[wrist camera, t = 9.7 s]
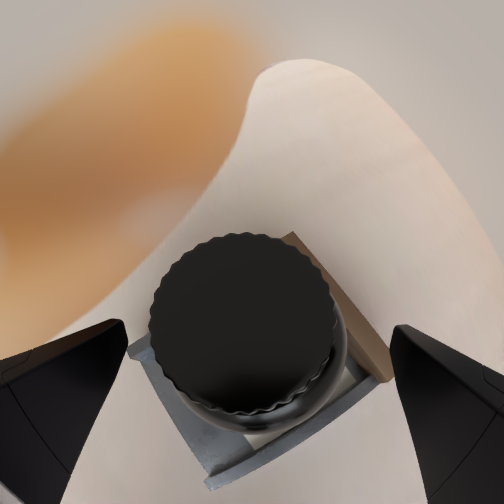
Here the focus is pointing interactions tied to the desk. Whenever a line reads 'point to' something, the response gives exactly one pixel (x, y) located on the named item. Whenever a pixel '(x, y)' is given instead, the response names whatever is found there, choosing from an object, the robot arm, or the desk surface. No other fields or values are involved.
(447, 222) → the desk surface
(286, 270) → the supplement bottle
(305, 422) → the grey tray
